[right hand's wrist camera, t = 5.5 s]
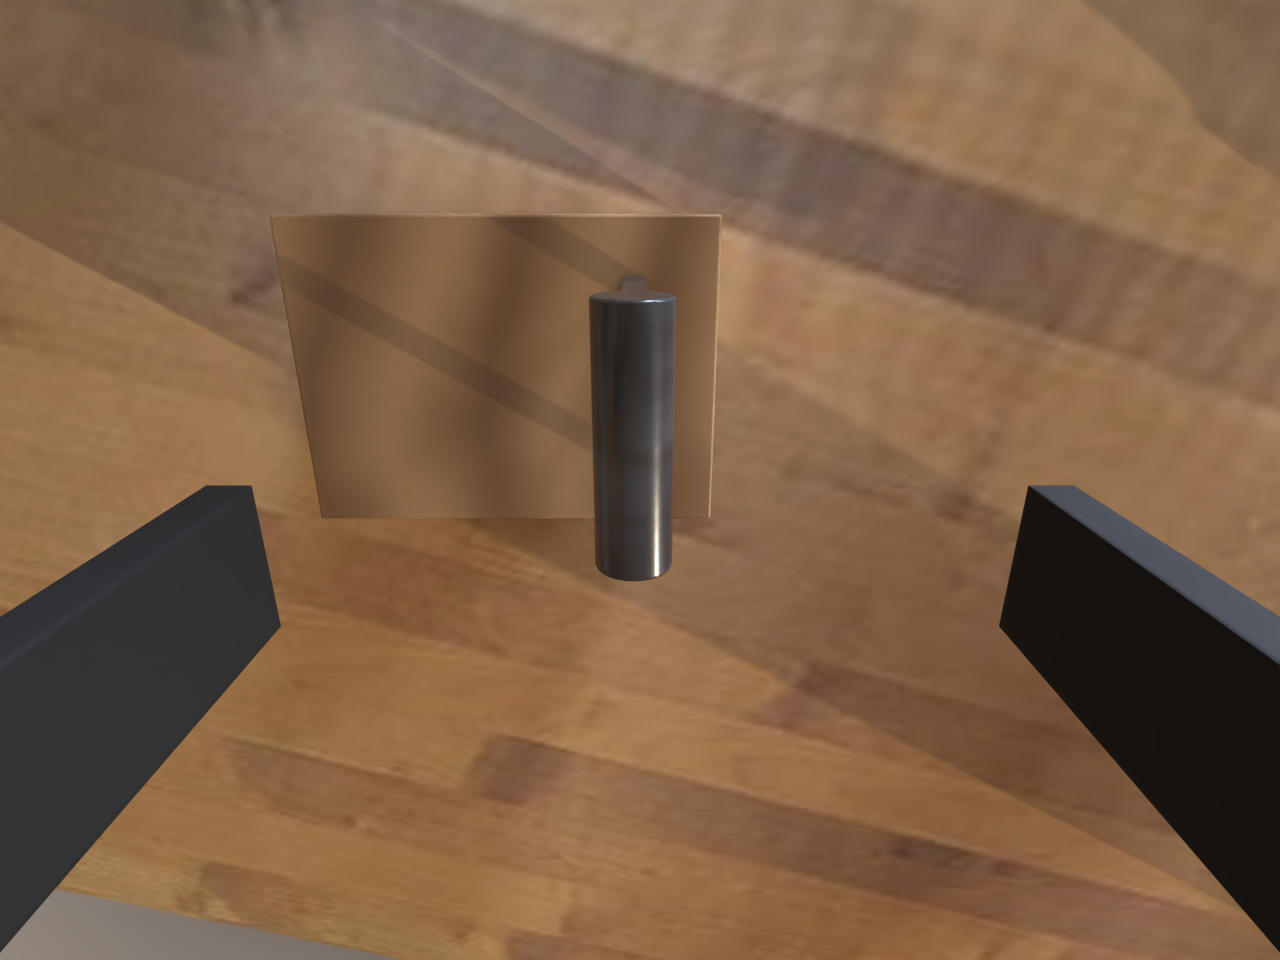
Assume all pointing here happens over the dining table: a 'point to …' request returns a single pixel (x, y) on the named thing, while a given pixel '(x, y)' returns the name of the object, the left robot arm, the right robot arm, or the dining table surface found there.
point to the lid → (510, 368)
